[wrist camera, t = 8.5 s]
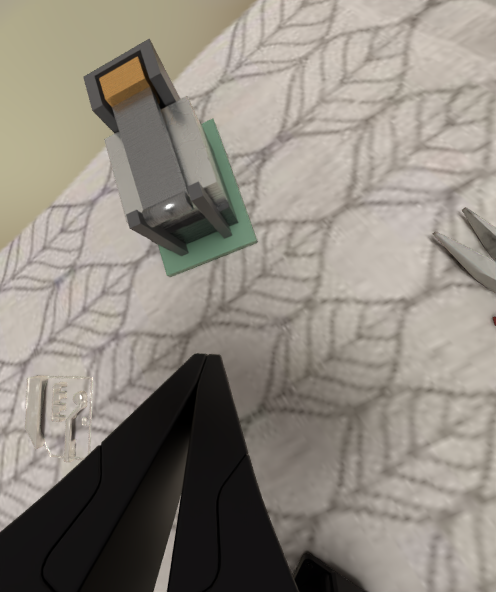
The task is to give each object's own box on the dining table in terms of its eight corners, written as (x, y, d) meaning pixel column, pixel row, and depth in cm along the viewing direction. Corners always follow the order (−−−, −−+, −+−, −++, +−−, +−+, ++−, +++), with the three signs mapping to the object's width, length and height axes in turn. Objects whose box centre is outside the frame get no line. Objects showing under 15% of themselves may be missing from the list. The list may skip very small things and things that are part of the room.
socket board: (257, 242, 21) (236, 196, 13) (170, 276, 22) (101, 254, 14) (215, 123, 23) (173, 18, 15) (137, 161, 24) (59, 84, 16)
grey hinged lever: (185, 202, 14) (137, 56, 15) (142, 221, 14) (99, 78, 15) (197, 214, 16) (153, 83, 17) (158, 231, 16) (118, 102, 17)
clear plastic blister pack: (42, 373, 25) (27, 377, 23) (98, 375, 24) (85, 378, 22) (37, 451, 24) (21, 460, 23) (94, 457, 23) (81, 466, 21)
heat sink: (238, 222, 21) (219, 188, 15) (170, 251, 22) (128, 228, 16) (212, 147, 22) (185, 90, 16) (148, 178, 23) (102, 133, 17)
